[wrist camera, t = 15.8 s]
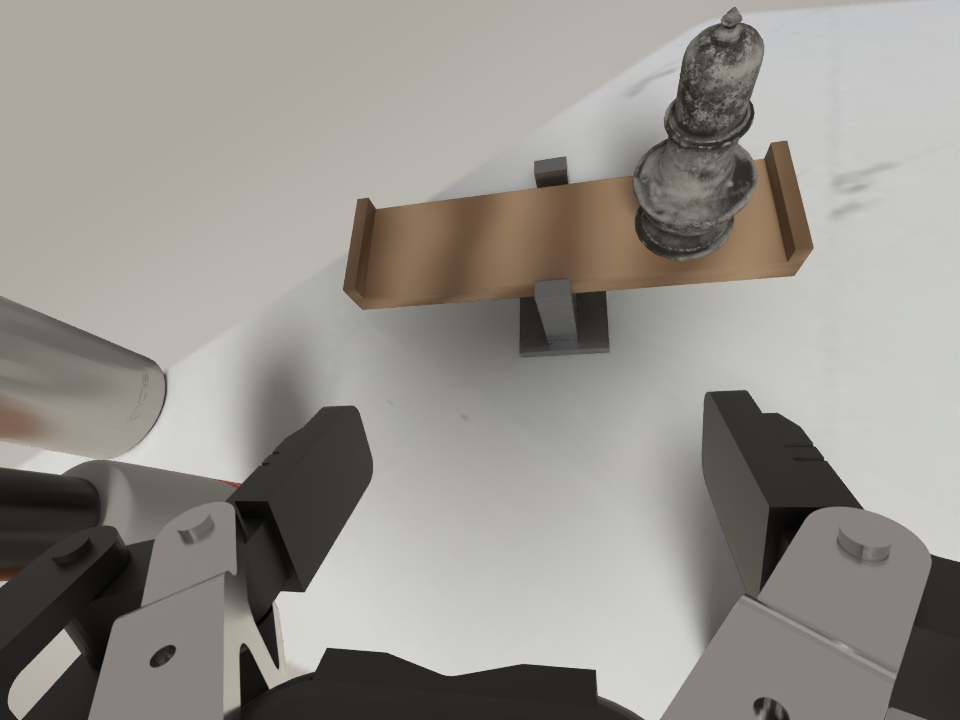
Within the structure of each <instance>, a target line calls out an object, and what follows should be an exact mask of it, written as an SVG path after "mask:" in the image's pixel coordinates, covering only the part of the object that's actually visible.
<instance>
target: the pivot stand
mask: <svg viewBox="0 0 960 720" xmlns="http://www.w3.org/2000/svg"><path fill="white" fill-rule="evenodd" d="M534 174H535V179H536V184H537V188H543V187H551V186H559V185H566V184H569V176H568V168H567V159H566V156H565V157H559V158H552V159H546V160H540V161H534ZM606 352H609V335H608V319H607V303H606V291H596V292H583V293H572V288H571V281H570V279H562V280H551V281H540V282H535V296H532V297H520V355H521V357H535V356H553V355H571V354H589V353H606Z"/></svg>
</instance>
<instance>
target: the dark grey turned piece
mask: <svg viewBox="0 0 960 720" xmlns="http://www.w3.org/2000/svg"><path fill="white" fill-rule="evenodd" d="M741 21H742V16H741V15H740V14H739V11H738V10H737V8H736V7H734V8H732V9H731V10H730V11H728V12H727V14H726V15H724V16H723V17H722V19H721V23H720V24H716V25H713V26H711V27H708V28H707V29H705V30H703V31H702V32H701V33H700V34H699V35H697V36H696V37H695V38H694V39H693V40H692V41H691V42H690V44H689V45H688V47H687V49H686V51H685V54H684V57H683V61H682V67H681V73H680V80H679V86H678V92H677V98H676V99H675V100H674V101H673V102H672V103H671V104H670V105H669V107H668V108H667V110H666V113H665V117H664V126H665V130H666V132H667V133H668V135H669V137H668V139H666V140H664V141H662V142H661V143H659V144H657V145H656V146H654V147H652V148H651V149H650V150H649V151H648V152H647V153H646V154H645V155H644V156H643V157H642V158H641V160H640V162H639V163H638V165H637V166H636V169H635V172H634V176H633V191H634V194H635V196H636V199H637V201H638V203H639V204H640V206H639V208H638V210H637V213H636V217H635V231H636V233H637V235H638V238H639V240H640V241H641V242H642V244H643V245H644V246H645V247H646V248H647V249H648V250H650V251H651V252H653V253H654V254H656V255H658V256H661V257H664V258H666V259H671V260H679V261H685V260H695V259H698V258H702V257H705V256H708V255H709V254H711V253H713V252H715V251H716V250H718V249H719V248H720V247H721V246H722V245H723V244H724V243H725V242H726V241H727V239H728V238H729V236H730V234H731V232H732V229H733V224H734V215H735V214H737V213H739V212H740V211H741V210H742V209H743V208H744V207H745V206H746V205H747V204H748V203H749V201H750V199H751V197H752V196H753V194H754V192H755V190H756V186H757V180H758V174H757V169H756V164H755V162H754V161H753V159H752V157H751V156H750V154H749V153H748V152H747V151H746V150H745V149H744V148H742V147H741V146H740V145H739V144H738V141H739V139H740V138H741V137H742V136H743V135H744V134H745V133H746V132H747V131H748V130H749V128H750V126H751V125H752V123H753V118H754V108H753V104H752V103H751V101H750V98H751V95H752V92H753V88H754V85H755V82H756V79H757V76H758V73H759V70H760V67H761V64H762V61H763V56H764V43H763V40H762V38H761V36H760V35H759V33H758V32H757V30H756V29H754V28H753V27H751V26H750V25H747V24H744V23H740V22H741Z"/></svg>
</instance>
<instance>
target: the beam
mask: <svg viewBox="0 0 960 720" xmlns="http://www.w3.org/2000/svg"><path fill="white" fill-rule="evenodd" d="M753 161H754V162H755V164H756V169H757V174H758V180H757V186H756V190H755V192H754V194H753V196H752V197H751V199H750V201H749V203H748V204H747V205H746V206H745V207H744V208H743V209H742V210H741V211H740V212H739V213H737V214H735V215H734V224H733V229H732V232H731V234H730V236H729V238H728V239H727V241H726V242H725V243H724V244H723V245H722V246H721V247H720V248H719V249H718V250H716V251H715V252H713V253H711V254H709V255H708V256H705V257H702V258H698V259H695V260H685V261H679V260H671V259H666V258H664V257H661V256H658V255H656V254H654V253H653V252H651V251H650V250H648V249H647V248H646V247H645V246H644V245H643V244H642V242H641V241H640V240H639V238H638V235H637V233H636V231H635V217H636V213H637V210H638V208H639V206H640V204H639V203H638V201H637V199H636V196H635V194H634V191H633V176H628V177H620V178H613V179H605V180H597V181H589V182H582V183H574V184H566V185H559V186H551V187H543V188H536V189H528V190H520V191H513V192H505V193H497V194H490V195H482V196H474V197H467V198H459V199H451V200H444V201H436V202H428V203H420V204H413V205H405V206H398V207H390V208H383V209H375V207H374V206H373V204H372V202H371V201H370V200H369V198H364V199H358V201H357V207H356V213H355V219H354V225H353V231H352V237H351V244H350V250H349V256H348V262H347V268H346V274H345V280H344V287H343V291H344V292H345V293H346V294H347V295H348V296H349V297H350V298H351V299H352V300H353V301H354V302H355V303H356V304H357V305H358V306H359V307H360V308H361V309H362V310H366V309H379V308H392V307H405V306H417V305H430V304H443V303H456V302H468V301H481V300H494V299H506V298H519V297H532V296H535V282H540V281H551V280H562V279H570V281H571V288H572V293H583V292H596V291H608V290H621V289H634V288H646V287H659V286H672V285H685V284H697V283H710V282H723V281H736V280H748V279H761V278H774V277H787V276H795V274H796V273H797V271H798V270H799V268H800V267H801V266H802V264H803V263H804V261H805V260H806V258H807V257H808V255H809V254H810V253H811V251H812V250H813V248H814V247H813V243H812V239H811V235H810V231H809V227H808V223H807V219H806V215H805V211H804V207H803V203H802V199H801V195H800V191H799V187H798V183H797V179H796V175H795V171H794V167H793V163H792V159H791V154H790V150H789V146H788V142H787V141H781V142H773V143H771V144H770V146H769V149H768V151H767V154H766V156H765V159H758V160H753Z"/></svg>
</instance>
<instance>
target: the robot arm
mask: <svg viewBox="0 0 960 720" xmlns="http://www.w3.org/2000/svg"><path fill="white" fill-rule="evenodd" d="M164 395H165V380H164V375H163V373H162V371H161V369H160V367H159V366H158V365H157V364H156V362H154V361H153V360H151V359H149V358H147V357H145V356H143V355H140V354H138V353H135V352H133V351H131V350H128V349H126V348H123V347H121V346H119V345H116V344H114V343H111V342H109V341H107V340H105V339H102V338H100V337H98V336H95V335H93V334H90V333H88V332H86V331H83V330H81V329H78V328H76V327H73V326H71V325H69V324H66V323H64V322H62V321H59V320H57V319H54V318H52V317H49V316H47V315H45V314H43V313H40V312H38V311H35V310H33V309H30V308H28V307H26V306H23V305H21V304H19V303H16V302H14V301H11V300H9V299H6V298H4V297H2V296H0V441H3V442H9V443H14V444H19V445H25V446H30V447H36V448H41V449H46V450H51V451H57V452H62V453H68V454H73V455H79V456H84V457H90V458H95V459H109V458H113V457H117V456H119V455H121V454H123V453H125V452H127V451H128V450H130V449H131V448H132V447H134V446H135V445H136V444H137V443H139V442H140V441H141V440H142V439H143V438H144V437H145V435H146V434H147V433H148V431H149V430H150V429H151V427H152V426H153V424H154V423H155V421H156V419H157V417H158V415H159V413H160V410H161V407H162V405H163V400H164ZM702 468H703V474H704V479H705V483H706V486H707V488H708V491H709V494H710V496H711V499H712V502H713V504H714V507H715V510H716V512H717V515H718V518H719V520H720V523H721V526H722V529H723V531H724V534H725V537H726V539H727V542H728V545H729V547H730V550H731V553H732V555H733V558H734V561H735V563H736V566H737V569H738V571H739V574H740V577H741V579H742V582H743V585H744V587H745V590H746V593H747V594H745V595H743V596H742V597H740V599H739V600H738V601H737V602H736V604H735V605H734V606H733V608H732V609H731V611H730V613H729V614H728V616H727V617H726V619H725V620H724V622H723V623H722V625H721V626H720V628H719V630H718V631H717V633H716V634H715V636H714V637H713V639H712V640H711V642H710V643H709V645H708V647H707V648H706V650H705V651H704V653H703V654H702V656H701V657H700V659H699V660H698V662H697V663H696V665H695V667H694V668H693V670H692V671H691V673H690V674H689V676H688V677H687V679H686V680H685V682H684V684H683V685H682V687H681V688H680V690H679V691H678V693H677V694H676V696H675V697H674V699H673V701H672V702H671V704H670V705H669V707H668V708H667V710H666V711H665V713H664V714H663V716H662V717H661V719H660V720H885V717H886V714H887V711H888V708H889V706H890V707H893V708H895V709H898V710H901V711H904V712H907V713H910V714H912V715H915V716H918V717H921V718H924V719H927V720H960V562H957V561H953V560H949V559H945V558H941V557H938V556H935V555H932V554H930V553H929V551H928V549H927V547H926V546H925V545H924V543H923V542H922V541H921V540H920V539H919V538H918V537H917V536H916V535H915V534H914V533H912V532H911V531H910V530H908V529H907V528H905V527H904V526H902V525H900V524H899V523H897V522H895V521H893V520H891V519H889V518H887V517H884V516H882V515H879V514H876V513H873V512H870V511H866V510H864V509H863V507H862V506H861V505H860V504H859V502H858V501H857V500H856V498H855V497H854V496H853V494H852V493H851V492H850V491H849V489H848V488H847V487H846V485H845V484H844V483H843V482H842V480H841V479H840V478H839V476H838V475H837V474H836V472H835V471H834V470H833V469H832V467H831V466H830V465H829V463H828V462H827V461H824V457H823V456H822V454H821V453H820V452H819V450H818V449H817V448H816V447H813V443H812V441H811V440H810V439H809V437H808V436H807V435H806V434H805V432H804V431H803V430H802V428H801V427H800V426H798V425H797V424H795V423H793V422H792V421H790V420H788V419H787V418H785V417H783V416H782V415H780V414H779V413H762V412H761V410H760V409H759V407H758V406H757V404H756V403H755V401H754V400H753V399H752V397H751V396H750V394H749V393H748V391H746V390H738V391H714V392H707V393H706V394H705V398H704V413H703V436H702ZM372 473H373V460H372V455H371V452H370V448H369V445H368V441H367V437H366V434H365V430H364V427H363V423H362V420H361V416H360V413H359V411H358V409H357V408H356V407H355V406H328V407H323V408H321V409H320V410H319V411H318V412H317V414H316V415H315V416H314V417H313V418H312V419H311V420H310V421H309V422H308V423H307V424H306V425H305V426H304V427H303V428H301V429H300V430H298V431H297V432H295V433H294V434H292V435H290V436H289V437H287V438H286V439H285V440H284V441H283V442H282V443H281V444H280V445H279V446H278V447H277V448H276V449H275V450H274V451H273V455H269V456H268V457H267V458H266V459H265V460H264V462H263V463H262V466H259V467H258V468H257V469H256V470H255V471H254V472H253V473H252V474H251V475H250V476H249V477H248V478H247V479H246V480H245V481H244V482H243V483H242V484H241V485H240V486H239V487H238V488H237V490H236V491H235V492H234V493H233V494H232V495H231V496H230V497H229V498H228V499H227V500H226V501H225V502H211V503H207V504H203V505H200V506H197V507H195V508H192V509H190V510H188V511H186V512H184V513H182V514H181V515H179V516H177V517H176V518H174V519H173V520H172V521H170V522H169V523H168V524H167V525H166V526H165V527H164V528H163V529H162V530H161V531H160V532H159V533H158V535H157V537H156V539H152V540H148V541H143V542H139V543H134V544H130V545H125V543H124V541H123V539H122V538H121V536H120V534H119V532H118V531H117V529H116V528H115V527H113V526H106V525H104V526H97V527H92V528H89V529H85V530H83V531H80V532H78V533H75V534H73V535H71V536H69V537H67V538H65V539H63V540H61V541H60V542H58V543H56V544H55V545H53V546H52V547H50V548H49V549H47V550H46V551H45V552H44V553H42V554H41V555H40V556H39V557H37V558H36V559H35V560H34V561H32V562H31V563H30V564H29V565H28V566H26V567H25V568H24V569H23V570H22V571H20V572H19V573H18V574H17V575H15V576H14V577H13V578H12V579H11V580H9V581H8V582H7V583H6V584H5V585H3V586H2V587H1V588H0V720H18V719H17V718H16V717H15V716H14V714H13V713H12V712H11V711H10V709H9V707H8V694H9V690H10V688H11V686H12V683H13V682H14V680H15V679H16V677H17V676H18V675H19V673H20V672H21V671H22V670H23V669H24V668H25V667H26V666H27V665H28V664H29V663H30V662H31V661H32V660H33V659H34V658H35V657H36V656H37V655H38V654H39V653H40V652H41V651H42V650H43V648H45V646H47V645H48V644H49V643H50V642H51V641H52V640H53V638H54V637H56V636H57V635H58V633H59V632H60V631H62V629H65V630H66V632H67V633H68V635H69V636H70V637H71V639H72V640H73V642H74V643H75V645H76V646H77V648H78V649H79V650H80V652H81V655H80V656H79V657H78V658H77V659H76V660H75V661H74V662H73V663H72V665H71V666H70V667H69V668H68V669H67V670H66V671H65V672H64V673H63V675H62V676H61V677H60V678H59V679H58V680H57V681H56V682H55V683H54V684H53V686H52V687H51V688H50V689H49V690H48V691H47V692H46V693H45V694H44V696H43V697H42V698H41V699H40V700H39V701H38V702H37V703H36V704H35V705H34V707H33V708H32V709H31V710H30V711H29V712H28V713H27V714H26V715H25V717H24V718H23V719H22V720H644V719H643V718H641V717H640V716H638V715H637V714H635V713H634V712H632V711H630V710H629V709H627V708H625V707H623V706H621V705H619V704H617V703H615V702H613V701H610V700H608V699H605V698H602V697H600V696H598V693H597V680H596V670H590V669H578V668H565V667H553V666H541V665H529V664H520V665H515V666H509V667H503V668H498V669H492V670H486V671H481V672H475V673H469V674H464V675H458V676H445V675H441V674H439V673H436V672H434V671H431V670H429V669H426V668H424V667H421V666H419V665H416V664H414V663H411V662H409V661H406V660H404V659H401V658H399V657H396V656H394V655H391V654H389V653H384V652H371V651H359V650H347V649H335V648H327V649H326V651H325V653H324V655H323V657H322V659H321V661H320V663H319V665H318V667H317V669H316V671H315V672H312V673H309V674H305V675H302V676H299V677H296V678H293V679H291V680H289V681H288V678H287V670H286V662H285V654H284V646H283V638H282V630H281V622H280V615H279V610H278V607H277V604H276V602H275V599H276V597H277V596H278V594H279V593H280V591H288V592H305V591H306V589H307V587H308V586H309V584H310V582H311V581H312V579H313V577H314V576H315V574H316V572H317V570H318V569H319V567H320V565H321V564H322V562H323V560H324V559H325V557H326V555H327V554H328V552H329V550H330V549H331V547H332V545H333V544H334V542H335V540H336V539H337V537H338V535H339V534H340V532H341V530H342V529H343V527H344V525H345V524H346V522H347V520H348V519H349V517H350V515H351V514H352V512H353V510H354V509H355V507H356V505H357V504H358V502H359V500H360V499H361V497H362V495H363V493H364V492H365V490H366V488H367V487H368V485H369V483H370V481H371V478H372Z"/></svg>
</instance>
